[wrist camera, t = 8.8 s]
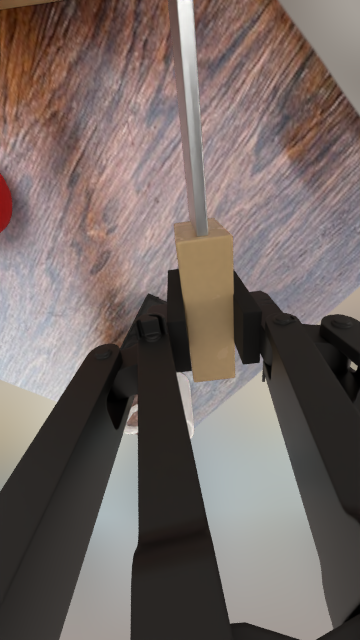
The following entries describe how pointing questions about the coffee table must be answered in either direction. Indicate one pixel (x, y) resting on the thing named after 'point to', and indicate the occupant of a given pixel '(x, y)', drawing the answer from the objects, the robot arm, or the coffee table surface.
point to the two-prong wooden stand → (21, 3)
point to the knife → (200, 224)
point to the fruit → (5, 204)
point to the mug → (187, 406)
